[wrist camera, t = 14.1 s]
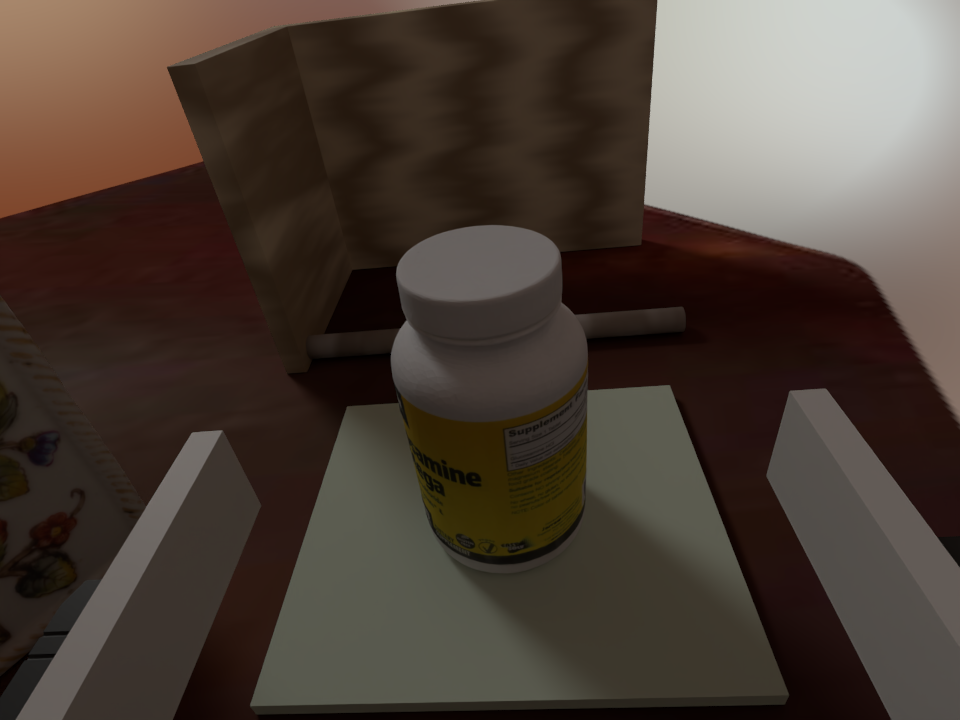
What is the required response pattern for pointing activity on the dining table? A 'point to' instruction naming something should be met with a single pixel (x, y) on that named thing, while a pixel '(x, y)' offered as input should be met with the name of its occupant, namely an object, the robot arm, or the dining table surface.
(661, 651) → the pad
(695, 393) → the dining table surface
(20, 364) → the decorative jar
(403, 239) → the wooden corner wall
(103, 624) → the robot arm
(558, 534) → the pill bottle
